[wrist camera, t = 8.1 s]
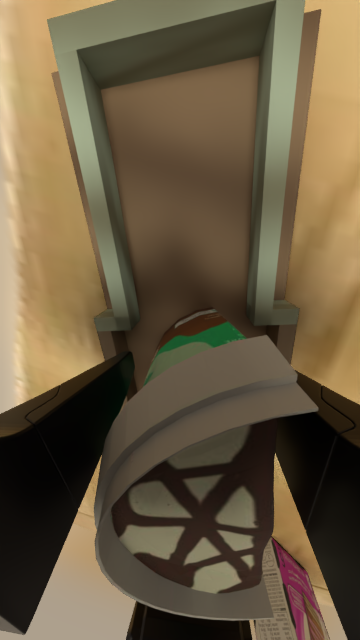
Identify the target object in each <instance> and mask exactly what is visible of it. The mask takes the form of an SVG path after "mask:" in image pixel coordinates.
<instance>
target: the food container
mask: <svg viewBox="0 0 360 640" xmlns="http://www.w3.org/2000/svg"><path fill="white" fill-rule="evenodd" d="M297 375H298V374H297V373H296V372H295V370H294V369H293V368H292V367H291V365H290V364H289V363H288V361H287V360H286V359H285V358H284V356H283V355H282V354H281V352H280V351H279V350H278V349H277V347H276V346H275V345H274V343H273V342H272V341H271V340H270V338H269V337H268V336H267V335H264V336H259V337H254V338H248V339H247V338H246V337H245V336H244V335H243V334H241V333H240V332H239V331H238V330H237V329H236V328H235V327H234V326H233V325H232V324H231V323H229V322H228V321H227V320H226V319H225V318H224V317H223V316H222V315H221V314H220V313H218V312H217V311H216V310H215V309H214V308H213V307H210V308H205V309H200V310H196V311H194V312H192V313H190V314H188V315H186V316H184V317H182V318H180V319H178V320H177V321H176V322H175V323H174V324H173V325H172V326H171V327H170V328H169V329H168V330H167V331H166V332H165V333H164V334H163V336H162V338H161V340H160V342H159V344H158V346H157V348H156V351H155V354H154V357H153V359H152V362H151V365H150V368H149V371H148V374H147V377H146V379H145V382H144V385H143V388H142V389H141V390H140V391H139V392H138V393H137V394H136V395H134V396H133V397H132V398H131V399H130V400H129V401H128V402H127V404H126V405H125V406H124V408H123V409H122V410H121V412H120V413H119V415H118V416H117V417H116V419H115V420H114V422H113V424H112V426H111V428H110V430H109V433H108V435H107V437H106V439H105V444H104V449H103V453H102V459H101V465H100V472H99V478H98V484H97V491H96V497H95V504H94V516H95V526H96V528H97V533H96V538H95V552H96V559H97V561H98V564H99V566H100V568H101V571H102V573H103V574H104V575H105V576H106V578H107V579H108V580H109V581H110V582H111V584H112V585H114V586H115V587H116V588H118V589H119V590H120V591H121V592H122V593H124V594H125V595H127V596H129V597H131V598H132V599H134V600H136V601H138V602H140V603H142V604H145V605H147V606H150V607H152V608H155V609H158V610H162V611H165V612H169V613H172V614H177V615H183V616H188V617H194V618H203V619H212V620H232V621H234V620H258V619H274V615H273V611H272V608H271V604H270V600H269V596H268V592H267V589H266V585H265V581H264V577H263V570H262V560H263V553H264V549H265V547H266V545H267V544H268V542H269V540H270V538H271V535H272V533H273V528H274V492H273V489H274V457H275V448H276V438H277V429H278V420H279V417H285V416H291V415H297V414H304V413H310V412H316V411H318V407H317V405H316V404H315V403H314V402H313V401H312V400H311V399H310V398H309V396H308V395H307V394H306V393H305V392H304V391H303V390H302V389H301V387H300V386H299V385H298V384H297V383H296V381H297Z"/></svg>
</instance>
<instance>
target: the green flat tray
mask: <svg viewBox="0 0 360 640" xmlns="http://www.w3.org/2000/svg"><path fill="white" fill-rule="evenodd" d="M304 7H305V0H116V1H112V2H108V3H105V4H101V5H98V6H94V7H90V8H87V9H83V10H80V11H76V12H72V13H69V14H65V15H62V16H58V17H54V18H51V19H47V22H48V27H49V31H50V36H51V40H52V44H53V49H54V53H55V58H56V62H57V66H58V72H53V73H52V77H53V81H54V86H55V90H56V94H57V98H58V102H59V107H60V111H61V115H62V119H63V123H64V128H65V132H66V136H67V140H68V144H69V149H70V153H71V157H72V161H73V165H74V170H75V174H76V178H77V182H78V187H79V191H80V195H81V199H82V203H83V208H84V212H85V216H86V220H87V224H88V229H89V233H90V237H91V241H92V245H93V250H94V254H95V258H96V262H97V266H98V271H99V275H100V279H101V283H102V288H103V292H104V296H105V300H106V304H107V310H106V311H104V312H102V313H101V314H99V315H98V316H96V317H94V322H95V325H96V329H97V333H98V336H99V340H100V344H101V347H102V351H103V355H104V358H105V361H106V360H108V359H110V358H112V357H114V356H116V355H118V354H120V353H122V352H124V351H131V352H132V354H133V358H134V363H135V369H134V373H133V376H132V379H131V383H130V386H129V390H128V393H127V395H126V398H125V400H124V403H123V405H122V408H121V410H122V409H123V408H124V406H125V405H126V404H127V402H128V401H129V400H130V399H131V398H132V397H133V396H134V395H136V394H137V393H138V392H139V391H140V390H141V389H142V388H143V385H144V382H145V379H146V377H147V374H148V371H149V368H150V365H151V362H152V359H153V357H154V354H155V351H156V348H157V346H158V344H159V342H160V340H161V338H162V336H163V334H164V333H165V332H166V331H167V330H168V329H169V328H170V327H171V326H172V325H173V324H174V323H175V322H176V321H177V320H178V319H180V318H182V317H184V316H186V315H188V314H190V313H192V312H194V311H196V310H200V309H205V308H210V307H213V308H214V309H215V310H216V311H217V312H218V313H220V314H221V315H222V316H223V317H224V318H225V319H226V320H227V321H228V322H229V323H231V324H232V325H233V326H234V327H235V328H236V329H237V330H238V331H239V332H240V333H241V334H243V335H244V336H245V337H246V338H247V339H248V338H254V337H259V336H264V335H267V336H268V337H269V338H270V340H271V341H272V342H273V343H274V345H275V346H276V347H277V349H278V350H279V351H280V352H281V354H282V355H283V356H284V358H285V359H286V360H287V361H288V363H289V364H291V358H292V352H293V346H294V340H295V333H296V327H297V321H298V315H299V308H298V307H296V306H294V305H293V304H291V303H289V302H287V301H285V300H284V299H285V291H286V283H287V275H288V267H289V259H290V251H291V244H292V236H293V228H294V220H295V212H296V204H297V196H298V188H299V181H300V173H301V165H302V157H303V149H304V141H305V133H306V126H307V118H308V110H309V102H310V94H311V86H312V78H313V71H314V63H315V55H316V47H317V39H318V31H319V23H320V16H321V9H320V10H316V11H311V12H307V13H304ZM121 410H120V412H121ZM120 412H119V413H120Z"/></svg>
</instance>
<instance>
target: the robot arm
mask: <svg viewBox="0 0 360 640" xmlns="http://www.w3.org/2000/svg"><path fill="white" fill-rule="evenodd" d="M134 369H135V363H134V358H133V354H132V352H131V351H124V352H122V353H120V354H118V355H116V356H114V357H112V358H110V359H108V360H106V361H104V362H102V363H101V364H99V365H97V366H95V367H93V368H91V369H89V370H87V371H85V372H83V373H81V374H80V375H78V376H76V377H74V378H72V379H70V380H68V381H66V382H64V383H62V384H61V385H58V386H57V387H55V388H53V389H51V390H49V391H47V392H45V393H43V394H41V395H39V396H37V397H35V398H33V399H31V400H29V401H27V402H25V403H22V404H20V405H18V406H16V407H14V408H12V409H10V410H8V411H5V412H4V413H1V414H0V630H2V631H7V632H12V633H17V634H22V635H24V634H25V633H26V632H27V630H28V627H29V625H30V623H31V621H32V619H33V616H34V614H35V612H36V609H37V607H38V604H39V602H40V600H41V597H42V595H43V593H44V590H45V588H46V586H47V583H48V581H49V578H50V576H51V574H52V571H53V569H54V566H55V564H56V562H57V560H58V557H59V555H60V552H61V550H62V548H63V545H64V542H65V541H66V538H67V536H68V533H69V531H70V529H71V526H72V524H73V522H74V519H75V517H76V515H77V512H78V508H79V507H80V505H81V502H82V500H83V498H84V495H85V493H86V490H87V488H88V486H89V483H90V481H91V479H92V476H93V474H94V471H95V469H96V467H97V464H98V462H99V460H100V457H101V455H102V453H103V449H104V444H105V439H106V437H107V435H108V433H109V430H110V428H111V426H112V424H113V422H114V420H115V419H116V417H117V416H118V415H119V412H120V410H121V408H122V405H123V403H124V400H125V398H126V395H127V393H128V390H129V386H130V383H131V379H132V376H133V373H134ZM295 372H296V373H297V374H298V375H297V381H296V383H297V384H298V385H299V386H300V387H301V389H302V390H303V391H304V392H305V393H306V394H307V395H308V396H309V398H310V399H311V400H312V401H313V402H314V403H315V404H316V405H317V407H318V411H316V412H310V413H304V414H297V415H291V416H285V417H279V420H278V429H277V438H276V448H275V453H276V456H277V458H278V461H279V463H280V466H281V468H282V471H283V474H284V476H285V479H286V481H287V484H288V486H289V489H290V492H291V494H292V497H293V499H294V502H295V504H296V507H297V510H298V512H299V515H300V517H301V520H302V523H303V525H304V528H305V530H306V533H307V536H308V538H309V541H310V544H311V546H312V549H313V551H314V554H315V556H316V559H317V562H318V564H319V567H320V569H321V572H322V575H323V577H324V580H325V582H326V585H327V587H328V590H329V593H330V595H331V598H332V600H333V603H334V606H335V608H336V611H337V613H338V616H339V618H340V621H341V624H342V626H343V629H344V631H345V634H346V636H347V639H348V640H360V405H359V404H357V403H355V402H353V401H351V400H349V399H347V398H345V397H343V396H341V395H340V394H338V393H336V392H334V391H332V390H330V389H329V388H327V387H325V386H321V384H319V383H318V382H316V381H314V380H312V379H310V378H309V377H307V376H305V375H303V374H301V373H299V372H298V371H296V370H295ZM126 640H252V635H251V629H250V623H249V620H234V621H232V620H212V619H203V618H194V617H188V616H183V615H177V614H172V613H169V612H165V611H162V610H158V609H155V608H152V607H150V606H147V605H145V604H142V603H140V602H138V601H136V603H135V607H134V611H133V615H132V618H131V622H130V625H129V629H128V632H127V637H126Z"/></svg>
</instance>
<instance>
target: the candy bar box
mask: <svg viewBox="0 0 360 640" xmlns="http://www.w3.org/2000/svg"><path fill="white" fill-rule="evenodd" d="M262 570H263V577H264V581H265V585H266V589H267V592H268V596H269V600H270V604H271V608H272V611H273V615H274V619H258V620H254V626H255V632H256V639H257V640H330V638H329V635H328V632H327V629H326V626H325V623H324V621H323V617H322V615H321V612H320V609H319V606H318V603H317V600H316V597H315V594H314V591H313V588H312V585H311V582H310V579H309V576H308V573H307V572H306V571H305V570H304V569H303V568H302V567H301V566H300V565H299V564H298V563H297V562H296V561H295V560H294V559H293V558H292V557H291V556H290V555H289V554H288V553H287V552H286V551H285V550H284V549H283V548H282V547H281V546H280V545H279V544H278V543H277V542H276V541H275V540H274V539H273V538H272V537H271V538H270V540H269V542H268V544H267V545H266V547H265V549H264V553H263V560H262Z"/></svg>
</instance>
